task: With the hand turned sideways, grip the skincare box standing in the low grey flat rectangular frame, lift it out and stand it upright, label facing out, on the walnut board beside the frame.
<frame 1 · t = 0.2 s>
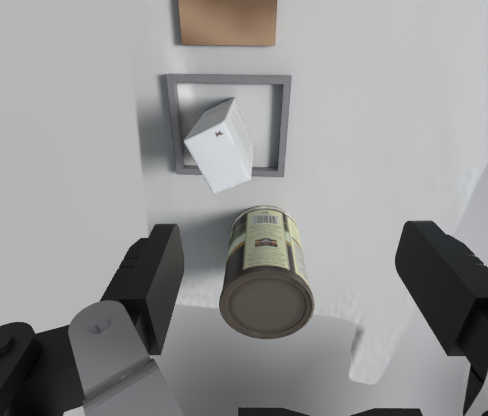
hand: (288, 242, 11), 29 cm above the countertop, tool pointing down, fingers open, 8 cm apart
coffee can: (264, 234, 46), on the countertop
grey flat rectangular frame: (230, 127, 38), on the countertop
skincare box: (230, 126, 38), resting in grey flat rectangular frame
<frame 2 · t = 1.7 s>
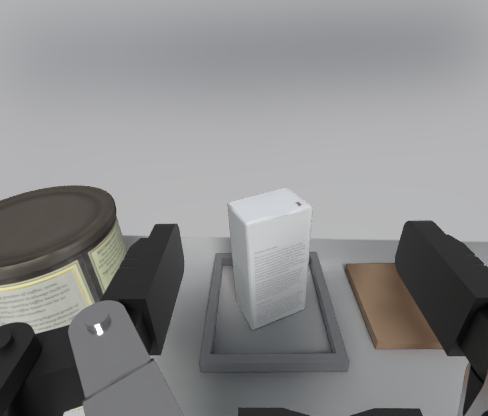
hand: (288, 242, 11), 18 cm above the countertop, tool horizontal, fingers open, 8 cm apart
coffee can: (93, 352, 28), on the countertop
grey flat rectangular frame: (268, 305, 31), on the countertop
walnut board: (408, 303, 31), on the countertop
skincare box: (268, 306, 31), resting in grey flat rectangular frame
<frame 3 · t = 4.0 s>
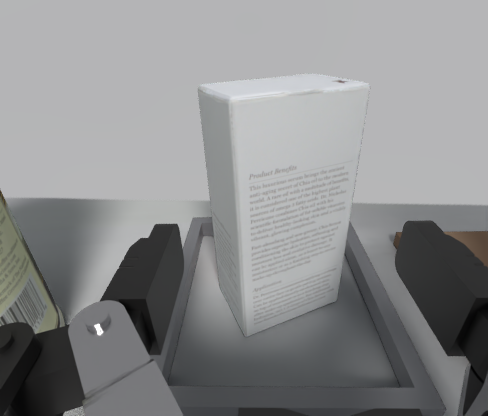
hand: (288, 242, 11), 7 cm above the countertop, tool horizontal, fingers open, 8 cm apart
grey flat rectangular frame: (274, 294, 18), on the countertop
skincare box: (274, 297, 19), resting in grey flat rectangular frame
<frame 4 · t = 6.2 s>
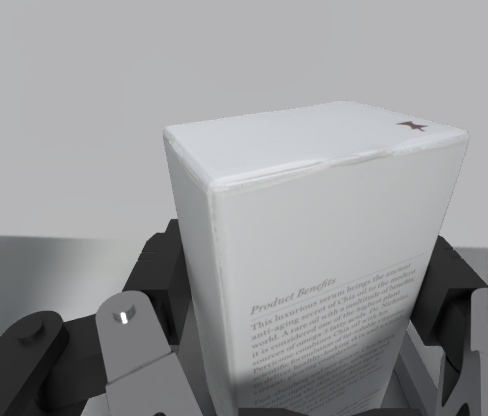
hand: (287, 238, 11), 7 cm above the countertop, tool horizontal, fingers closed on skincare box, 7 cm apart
grey flat rectangular frame: (285, 405, 13), on the countertop
skincare box: (285, 408, 13), resting in grey flat rectangular frame, touching gripper
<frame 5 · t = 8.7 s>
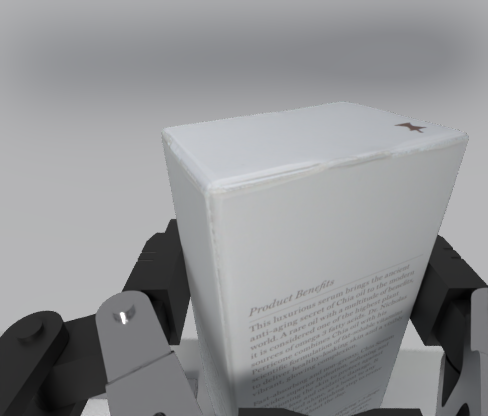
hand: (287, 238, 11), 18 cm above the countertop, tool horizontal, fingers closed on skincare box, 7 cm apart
skincare box: (284, 409, 13), point 10 cm above the countertop, touching gripper
when the fingers open (9 cm above the countertop, at t = 11.6 s): skincare box stays where it is, resting on walnut board.
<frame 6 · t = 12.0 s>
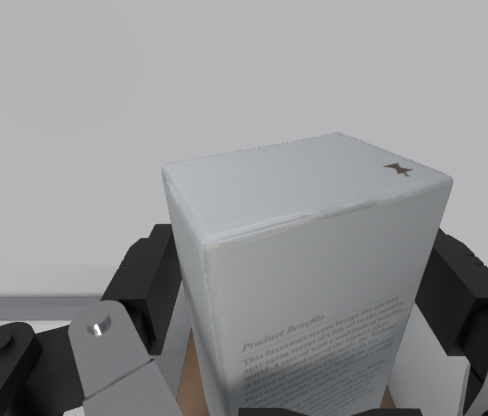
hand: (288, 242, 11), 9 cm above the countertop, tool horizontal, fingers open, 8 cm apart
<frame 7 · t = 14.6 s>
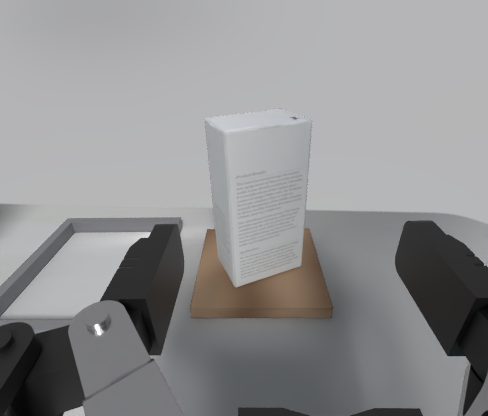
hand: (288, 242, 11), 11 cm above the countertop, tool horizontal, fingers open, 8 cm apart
grey flat rectangular frame: (98, 271, 27), on the countertop
walnut board: (259, 270, 26), on the countertop
skincare box: (257, 264, 26), point 1 cm above the countertop, touching walnut board
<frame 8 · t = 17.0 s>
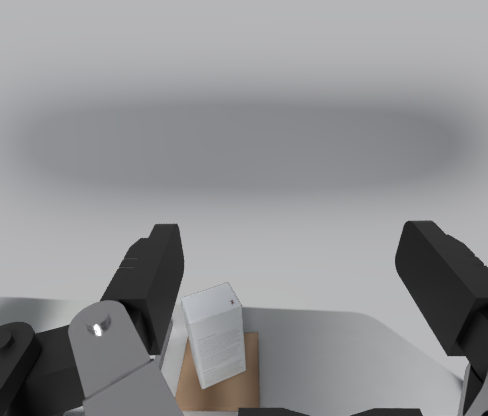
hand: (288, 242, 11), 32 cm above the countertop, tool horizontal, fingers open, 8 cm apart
walnut board: (220, 370, 40), on the countertop
skincare box: (218, 367, 40), point 1 cm above the countertop, touching walnut board
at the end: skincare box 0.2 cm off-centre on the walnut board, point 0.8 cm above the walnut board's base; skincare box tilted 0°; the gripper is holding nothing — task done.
